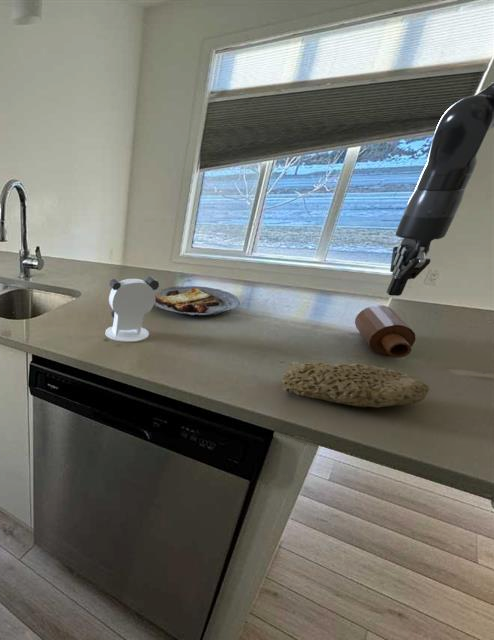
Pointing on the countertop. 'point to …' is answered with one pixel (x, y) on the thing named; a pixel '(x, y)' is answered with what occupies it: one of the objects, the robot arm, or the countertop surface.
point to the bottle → (385, 331)
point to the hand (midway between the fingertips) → (393, 294)
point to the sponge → (354, 384)
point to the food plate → (195, 300)
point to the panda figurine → (130, 308)
